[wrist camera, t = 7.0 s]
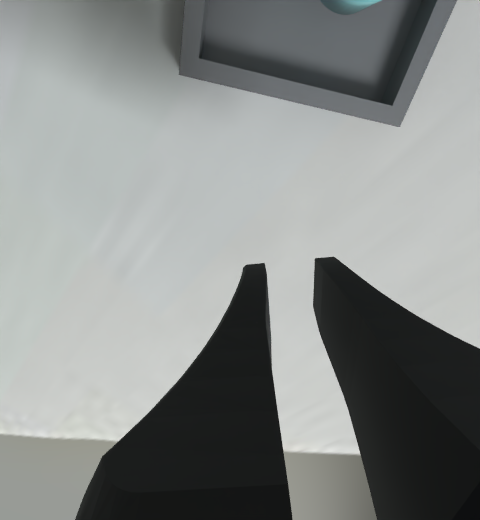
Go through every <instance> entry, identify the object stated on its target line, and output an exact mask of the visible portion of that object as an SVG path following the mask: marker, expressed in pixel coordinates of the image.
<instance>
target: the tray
mask: <svg viewBox="0 0 480 520" xmlns="http://www.w3.org/2000/svg"><path fill="white" fill-rule="evenodd" d="M456 1H457V0H382V1H380V2H378V3H376V4H374V5H372V6H370V7H368V8H366V9H364V10H362V11H360V12H357V13H354V14H349V15H342V14H337V13H334V12H332V11H331V10H329V9H328V8H326V7H325V6H324V5H323V4H322V2H321V1H320V0H185V7H184V19H183V32H182V44H181V56H180V68H179V75H182V76H187V77H191V78H195V79H199V80H203V81H208V82H212V83H216V84H220V85H224V86H229V87H233V88H237V89H241V90H245V91H250V92H254V93H258V94H262V95H267V96H271V97H275V98H279V99H283V100H288V101H292V102H296V103H300V104H304V105H309V106H313V107H317V108H321V109H325V110H330V111H334V112H338V113H342V114H346V115H351V116H355V117H359V118H363V119H367V120H372V121H376V122H380V123H384V124H388V125H393V126H397V127H400V125H401V123H402V121H403V119H404V117H405V114H406V112H407V110H408V108H409V105H410V103H411V101H412V99H413V97H414V94H415V92H416V90H417V88H418V86H419V83H420V81H421V79H422V77H423V74H424V72H425V70H426V68H427V66H428V63H429V61H430V59H431V57H432V55H433V52H434V50H435V48H436V46H437V44H438V41H439V39H440V37H441V35H442V32H443V30H444V28H445V26H446V24H447V21H448V19H449V17H450V15H451V13H452V10H453V8H454V6H455V4H456Z"/></svg>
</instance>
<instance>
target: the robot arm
mask: <svg viewBox="0 0 480 520" xmlns="http://www.w3.org/2000/svg"><path fill="white" fill-rule="evenodd" d="M313 307H314V312H315V316H316V320H317V324H318V328H319V332H320V335H321V338H322V340H323V343H324V346H325V348H326V351H327V353H328V356H329V359H330V361H331V364H332V366H333V369H334V372H335V374H336V377H337V379H338V382H339V385H340V387H341V390H342V392H343V395H344V398H345V401H346V404H347V407H348V410H349V414H350V417H351V421H352V424H353V428H354V432H355V435H356V439H357V442H358V446H359V450H360V454H361V457H362V461H363V465H364V469H365V472H366V476H367V480H368V484H369V488H370V492H371V496H372V500H373V504H374V508H375V512H376V516H377V520H480V349H479V348H477V347H475V346H473V345H471V344H468V343H466V342H464V341H462V340H460V339H458V338H456V337H454V336H452V335H450V334H449V333H447V332H445V331H443V330H441V329H439V328H438V327H436V326H434V325H432V324H430V323H429V322H427V321H425V320H423V319H421V318H420V317H418V316H416V315H415V314H413V313H411V312H410V311H408V310H407V309H405V308H404V307H402V306H400V305H399V304H397V303H396V302H394V301H393V300H391V299H390V298H388V297H387V296H385V295H384V294H382V293H381V292H380V291H378V290H377V289H375V288H374V287H373V286H371V285H370V284H369V283H367V282H366V281H365V280H363V279H362V278H361V277H359V276H358V275H357V274H355V273H354V272H353V271H352V270H350V269H349V268H348V267H347V266H345V265H344V264H343V263H341V262H340V261H339V260H338V259H336V258H335V257H326V258H315V271H314V298H313ZM75 520H292V512H291V504H290V497H289V489H288V481H287V475H286V467H285V460H284V454H283V447H282V440H281V433H280V426H279V419H278V412H277V404H276V397H275V390H274V382H273V375H272V363H271V330H270V315H269V300H268V286H267V273H266V268H265V263H261V264H250V265H246V266H245V267H244V268H243V272H242V276H241V279H240V282H239V284H238V287H237V290H236V292H235V294H234V296H233V298H232V301H231V303H230V305H229V307H228V309H227V311H226V313H225V314H224V316H223V318H222V320H221V322H220V323H219V325H218V327H217V329H216V330H215V332H214V333H213V335H212V337H211V338H210V340H209V341H208V342H207V344H206V345H205V347H204V348H203V350H202V351H201V353H200V354H199V355H198V356H197V358H196V359H195V360H194V362H193V363H192V364H191V366H190V367H189V368H188V369H187V371H186V372H185V373H184V374H183V376H182V377H181V378H180V379H179V380H178V381H177V383H176V384H175V385H174V386H173V387H172V388H171V389H170V390H169V391H168V392H167V393H166V395H165V396H164V397H163V398H162V399H161V400H160V401H159V402H158V403H157V404H156V405H155V407H154V408H153V409H152V410H151V411H150V412H149V413H148V414H147V415H146V416H145V417H144V418H143V419H142V420H141V421H140V422H139V423H138V424H136V425H135V426H134V427H133V428H132V429H131V430H130V431H129V432H128V433H127V434H126V435H125V436H124V437H123V438H122V439H121V440H120V441H118V442H117V443H116V444H115V445H114V446H113V447H112V448H111V449H110V450H109V451H108V452H107V453H106V454H105V455H103V456H102V458H101V461H100V463H99V465H98V467H97V469H96V471H95V473H94V476H93V478H92V480H91V482H90V484H89V486H88V488H87V490H86V493H85V495H84V497H83V500H82V503H81V505H80V508H79V511H78V513H77V516H76V519H75Z"/></svg>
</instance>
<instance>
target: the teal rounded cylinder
mask: <svg viewBox="0 0 480 520" xmlns="http://www.w3.org/2000/svg"><path fill="white" fill-rule="evenodd" d="M320 1H321V2H322V4H323V5H324V6H325V7H326V8H328V9H329V10H331V11H332V12H334V13H337V14H342V15H349V14H354V13H357V12H360V11H362V10H364V9H366V8H368V7H370V6H372V5H374V4H376V3H378V2H380V1H382V0H320Z"/></svg>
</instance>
